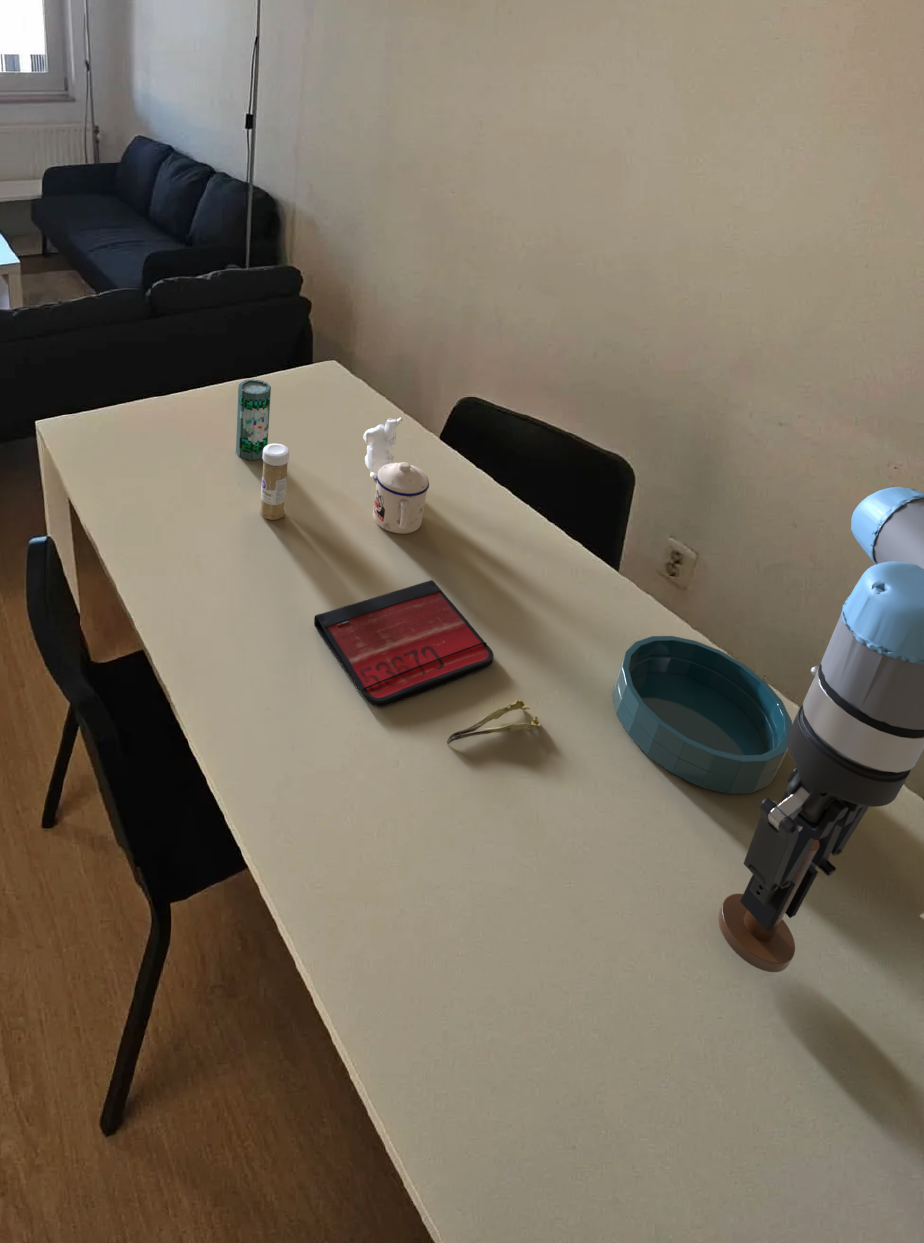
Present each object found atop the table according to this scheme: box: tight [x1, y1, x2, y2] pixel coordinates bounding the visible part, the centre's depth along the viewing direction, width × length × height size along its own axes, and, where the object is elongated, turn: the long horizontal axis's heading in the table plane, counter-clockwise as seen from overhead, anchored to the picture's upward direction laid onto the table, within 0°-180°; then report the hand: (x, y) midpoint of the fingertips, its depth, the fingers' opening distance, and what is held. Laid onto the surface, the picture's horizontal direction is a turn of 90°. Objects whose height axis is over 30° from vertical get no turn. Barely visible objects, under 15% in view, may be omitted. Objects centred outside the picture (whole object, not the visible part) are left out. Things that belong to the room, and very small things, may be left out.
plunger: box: [717, 840, 820, 973], centre depth 69 cm, size 6×6×15 cm
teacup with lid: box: [372, 461, 430, 535], centre depth 129 cm, size 12×9×12 cm
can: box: [235, 378, 272, 461], centre depth 149 cm, size 6×6×15 cm
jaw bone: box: [446, 699, 542, 745], centre depth 94 cm, size 4×13×2 cm, turn 114°
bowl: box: [612, 635, 793, 794], centre depth 95 cm, size 19×19×6 cm
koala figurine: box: [362, 417, 404, 479], centre depth 144 cm, size 8×7×12 cm
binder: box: [313, 579, 494, 707], centre depth 106 cm, size 16×2×21 cm
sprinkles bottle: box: [259, 443, 290, 521], centre depth 131 cm, size 5×5×13 cm
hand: (767, 907), depth 70 cm, fingers closed on plunger, 2 cm apart
